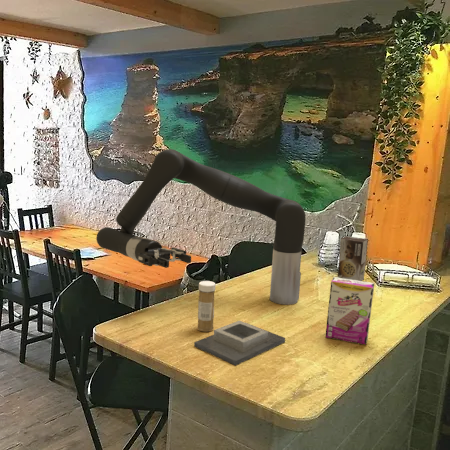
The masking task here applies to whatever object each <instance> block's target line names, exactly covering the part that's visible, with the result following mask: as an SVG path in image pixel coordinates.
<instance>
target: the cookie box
mask: <svg viewBox="0 0 450 450" xmlns="http://www.w3.org/2000/svg"><path fill="white" fill-rule="evenodd" d="M368 241H369V239H367V238H361V237H354V236H348V235H345V236H343V237H341V238H340V242H339V243H340V246H339V256H338V258H339V259H338V267H337V268H338V269H337V277H339V278H345V279H351V280H358V281H364V280H365V274H366V273H365V272H366V271H365V270H366V261H367V252H368V243H369V242H368Z"/></svg>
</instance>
